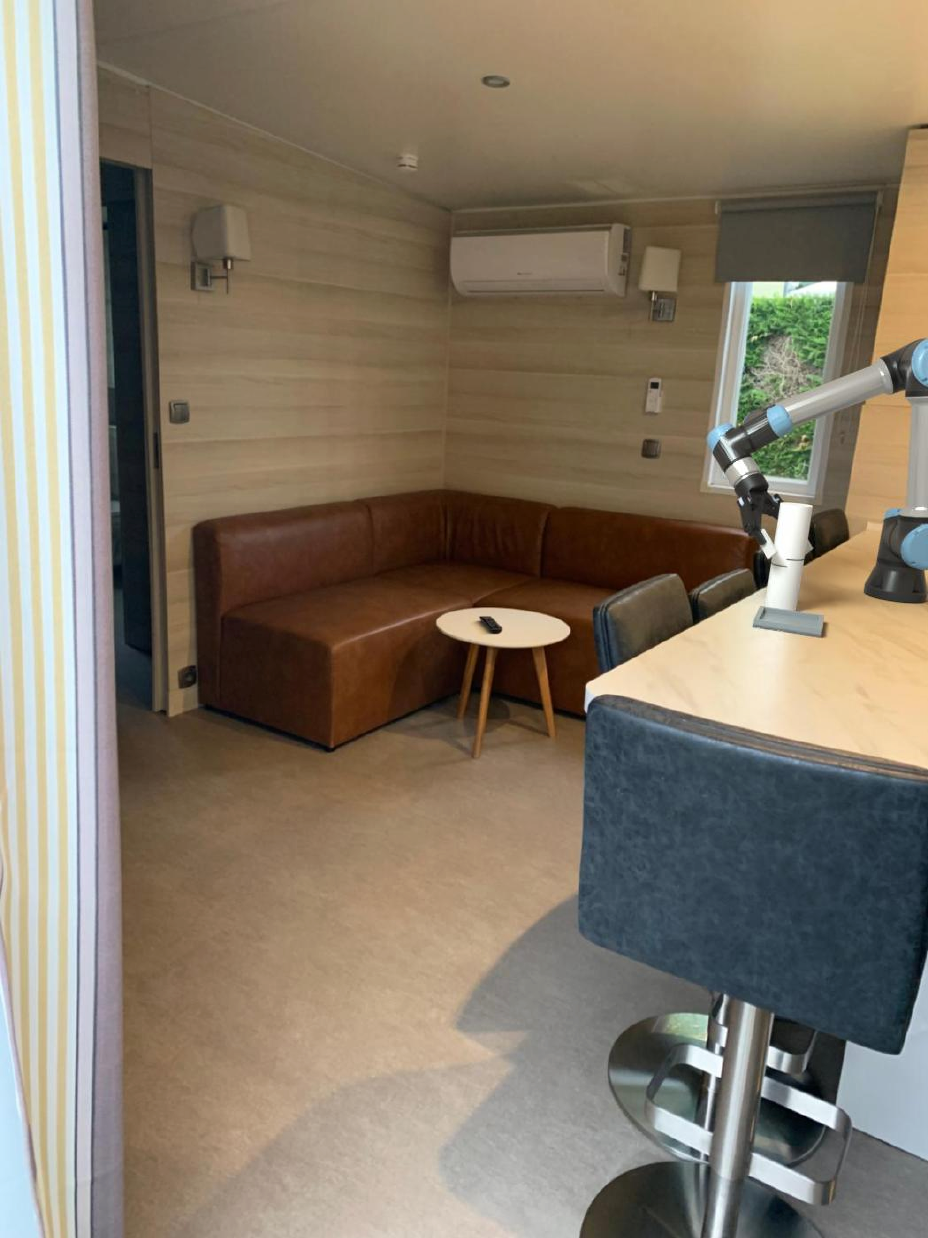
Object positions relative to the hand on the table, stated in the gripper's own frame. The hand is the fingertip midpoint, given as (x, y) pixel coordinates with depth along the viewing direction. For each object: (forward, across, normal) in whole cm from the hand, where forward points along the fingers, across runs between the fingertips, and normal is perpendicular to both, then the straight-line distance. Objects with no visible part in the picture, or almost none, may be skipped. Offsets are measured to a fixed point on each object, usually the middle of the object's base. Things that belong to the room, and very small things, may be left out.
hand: (791, 553), depth 208 cm
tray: (+16, +11, -3) cm, 20 cm away
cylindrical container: (+9, 0, -10) cm, 14 cm away
